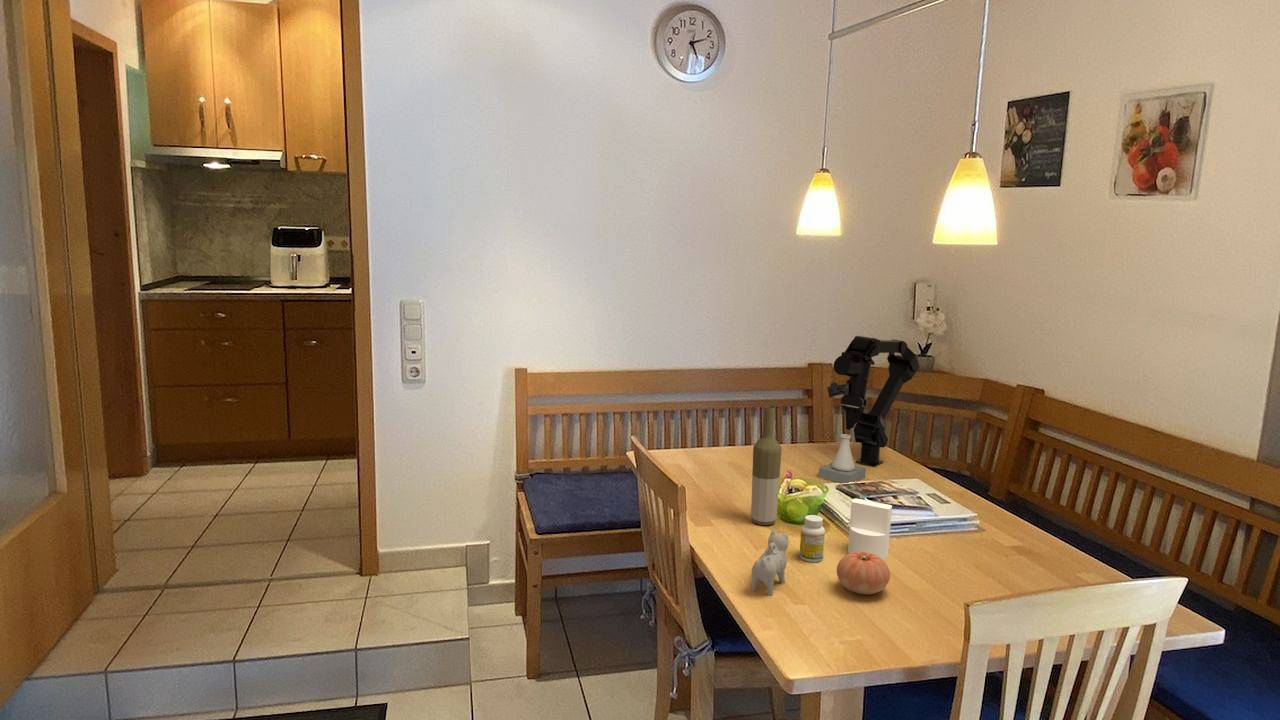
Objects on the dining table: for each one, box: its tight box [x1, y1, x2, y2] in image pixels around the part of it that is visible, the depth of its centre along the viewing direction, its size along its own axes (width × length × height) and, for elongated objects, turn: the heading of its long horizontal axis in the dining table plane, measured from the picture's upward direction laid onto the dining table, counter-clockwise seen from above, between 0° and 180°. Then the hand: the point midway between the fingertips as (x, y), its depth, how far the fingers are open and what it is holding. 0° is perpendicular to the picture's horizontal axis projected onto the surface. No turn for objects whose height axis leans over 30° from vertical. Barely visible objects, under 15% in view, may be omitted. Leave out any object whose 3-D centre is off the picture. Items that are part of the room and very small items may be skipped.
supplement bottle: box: [799, 514, 826, 563], centre depth 191 cm, size 5×5×10 cm
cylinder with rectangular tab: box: [847, 497, 893, 560], centre depth 195 cm, size 9×9×12 cm
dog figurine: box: [750, 529, 789, 596], centre depth 178 cm, size 5×13×11 cm, turn 151°
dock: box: [818, 461, 867, 484], centre depth 250 cm, size 10×10×3 cm
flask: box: [831, 433, 856, 471], centre depth 249 cm, size 7×7×10 cm
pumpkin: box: [836, 552, 891, 595], centre depth 176 cm, size 11×11×8 cm
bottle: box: [750, 405, 782, 526], centre depth 211 cm, size 7×7×30 cm
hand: (849, 428), depth 255 cm, fingers open, 9 cm apart
